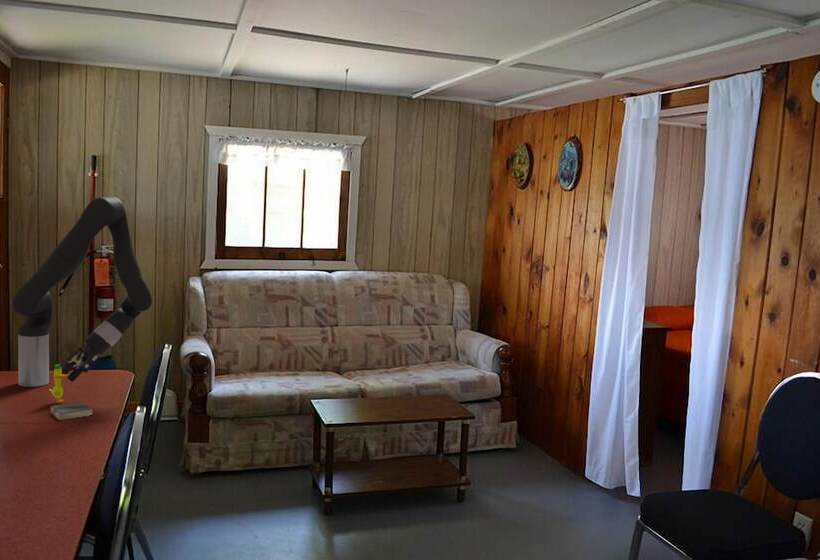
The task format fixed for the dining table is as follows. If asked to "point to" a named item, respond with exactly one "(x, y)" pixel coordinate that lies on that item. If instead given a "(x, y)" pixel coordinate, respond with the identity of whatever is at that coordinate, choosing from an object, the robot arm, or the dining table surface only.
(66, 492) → the dining table surface
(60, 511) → the dining table surface
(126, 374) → the dining table surface
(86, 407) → the stand
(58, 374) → the toy figure
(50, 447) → the dining table surface
